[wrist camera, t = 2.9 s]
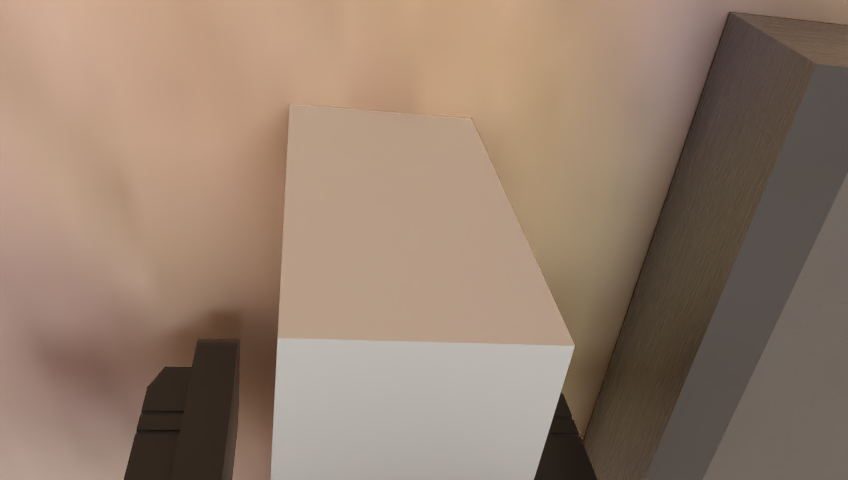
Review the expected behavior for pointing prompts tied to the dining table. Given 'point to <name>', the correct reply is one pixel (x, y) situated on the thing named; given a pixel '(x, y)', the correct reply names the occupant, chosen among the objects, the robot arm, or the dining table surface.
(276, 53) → the dining table surface
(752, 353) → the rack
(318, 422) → the white rectangular block
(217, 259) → the dining table surface
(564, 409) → the robot arm
